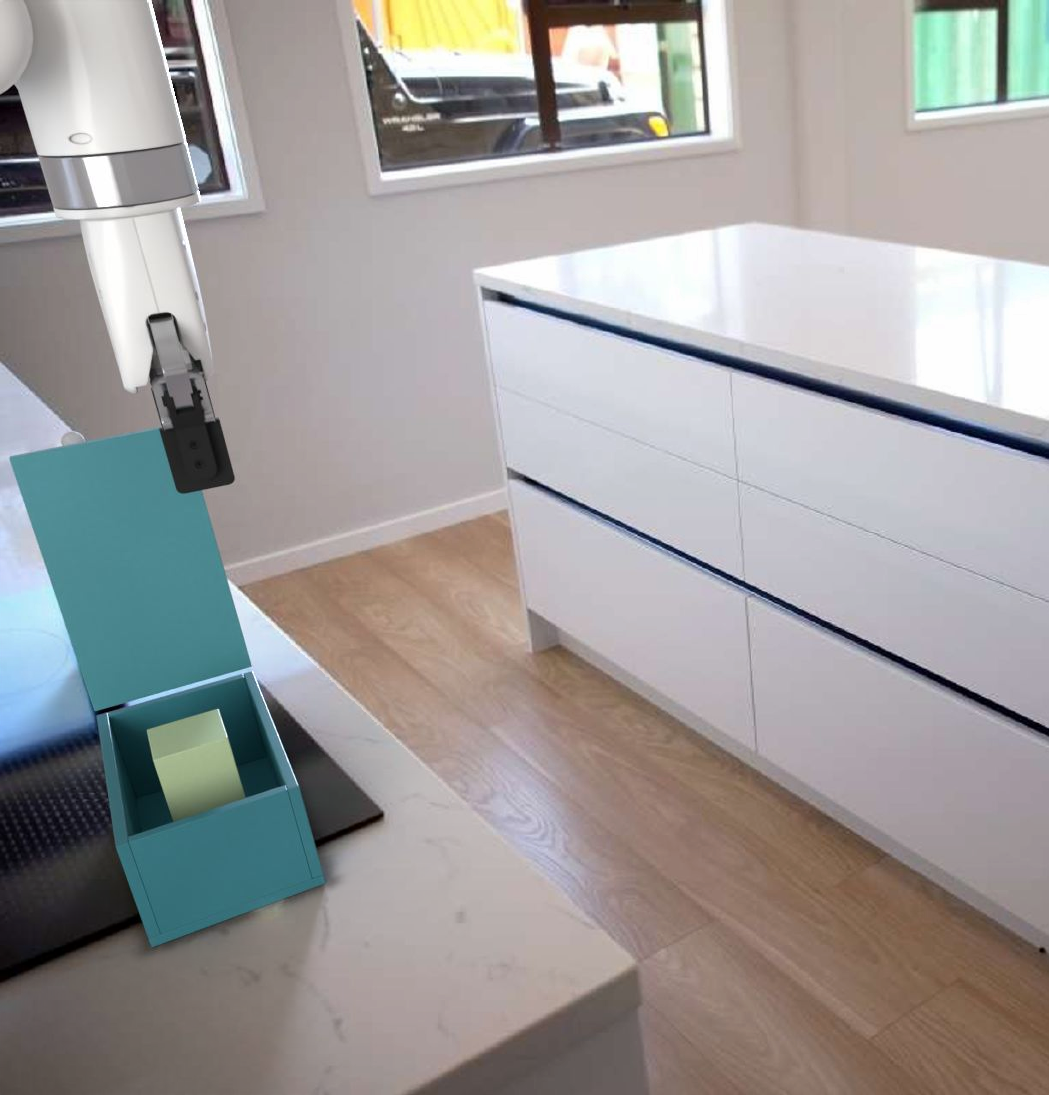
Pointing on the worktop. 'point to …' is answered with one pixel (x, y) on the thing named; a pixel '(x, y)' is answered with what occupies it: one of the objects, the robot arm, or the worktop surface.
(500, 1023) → the worktop surface
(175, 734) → the carton
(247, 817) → the box
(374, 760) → the worktop surface
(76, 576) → the lunchbox lid
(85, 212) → the robot arm
